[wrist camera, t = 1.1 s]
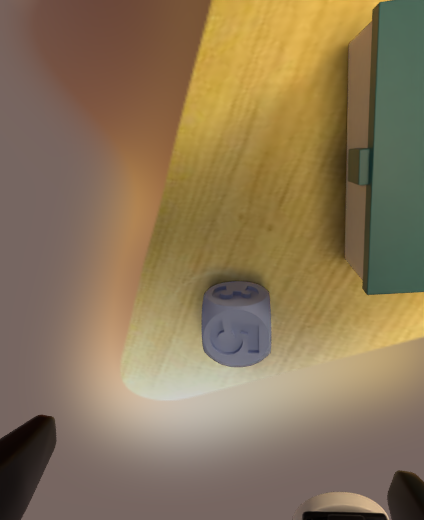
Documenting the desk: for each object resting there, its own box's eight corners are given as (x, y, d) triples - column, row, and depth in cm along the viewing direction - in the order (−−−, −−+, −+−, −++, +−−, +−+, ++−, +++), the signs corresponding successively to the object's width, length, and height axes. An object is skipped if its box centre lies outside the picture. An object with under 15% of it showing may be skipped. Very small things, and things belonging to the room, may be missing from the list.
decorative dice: (267, 333, 24) (271, 368, 20) (210, 332, 24) (203, 367, 20) (267, 280, 23) (271, 307, 19) (207, 280, 23) (199, 307, 19)
